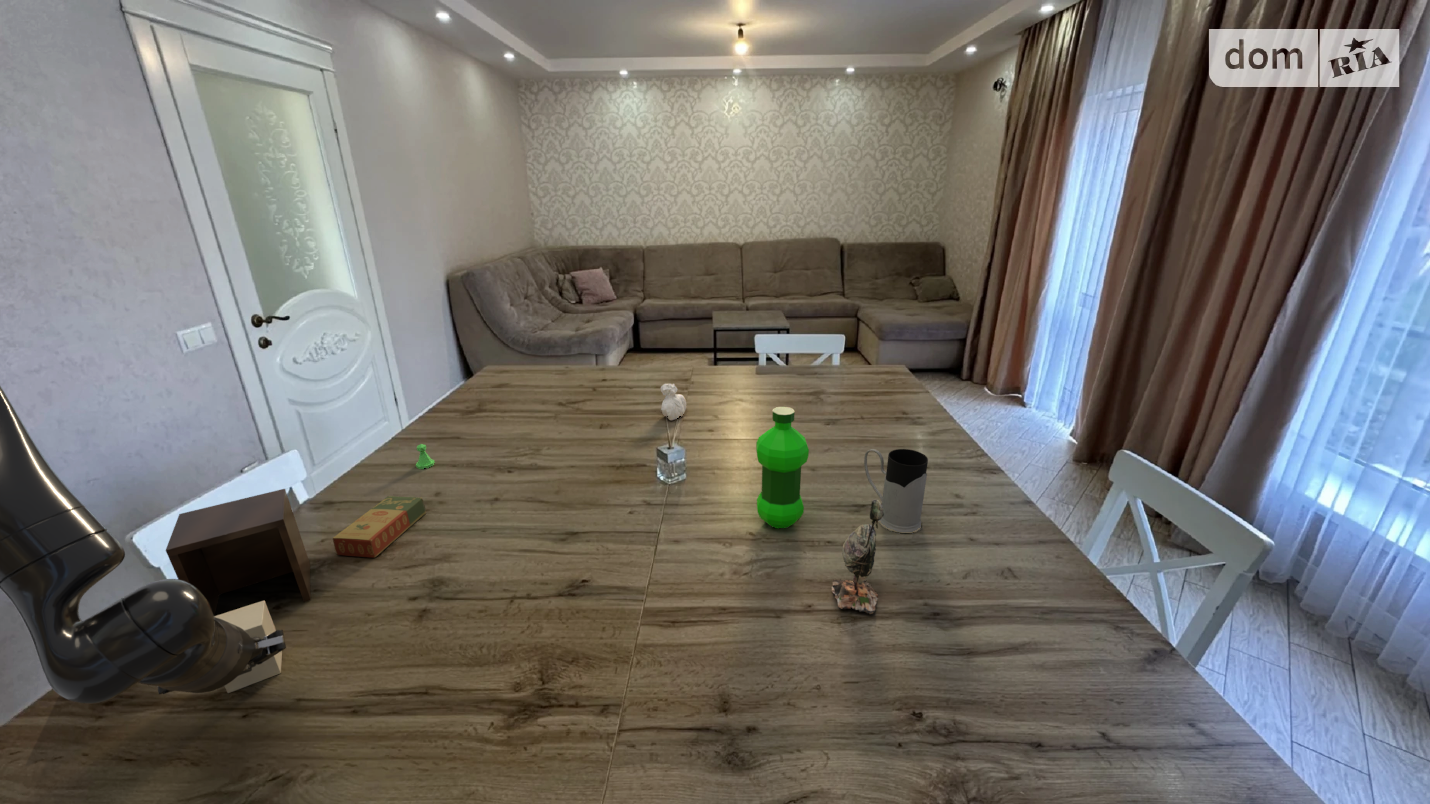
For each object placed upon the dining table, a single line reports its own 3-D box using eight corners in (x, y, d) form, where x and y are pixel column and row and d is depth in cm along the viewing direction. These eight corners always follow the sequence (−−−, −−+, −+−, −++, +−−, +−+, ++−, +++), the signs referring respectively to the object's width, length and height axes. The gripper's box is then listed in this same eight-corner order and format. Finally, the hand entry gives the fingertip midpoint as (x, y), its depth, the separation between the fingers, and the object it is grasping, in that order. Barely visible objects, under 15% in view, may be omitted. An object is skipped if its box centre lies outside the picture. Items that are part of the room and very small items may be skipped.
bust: (681, 415, 175) (661, 386, 175) (698, 404, 171) (678, 374, 171) (663, 429, 165) (642, 398, 165) (680, 418, 161) (658, 386, 161)
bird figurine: (883, 578, 98) (895, 479, 91) (874, 621, 88) (887, 514, 81) (837, 567, 101) (845, 470, 94) (823, 608, 91) (832, 503, 84)
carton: (336, 556, 105) (330, 537, 104) (391, 511, 120) (387, 493, 119) (376, 558, 104) (370, 539, 103) (427, 513, 119) (423, 495, 118)
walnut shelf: (203, 636, 86) (165, 550, 81) (212, 593, 96) (179, 513, 90) (310, 600, 94) (283, 519, 88) (310, 564, 103) (285, 488, 97)
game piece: (427, 469, 138) (423, 448, 136) (412, 468, 138) (407, 447, 136) (438, 462, 142) (434, 440, 140) (423, 460, 142) (418, 439, 140)
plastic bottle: (799, 539, 109) (806, 423, 100) (748, 530, 112) (750, 417, 103) (808, 513, 118) (815, 404, 109) (760, 505, 121) (763, 399, 112)
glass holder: (906, 539, 109) (915, 471, 103) (848, 509, 119) (853, 447, 114) (930, 523, 114) (940, 458, 108) (872, 496, 124) (879, 435, 119)
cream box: (227, 693, 76) (205, 643, 73) (232, 665, 81) (211, 617, 78) (281, 673, 80) (261, 624, 76) (282, 647, 84) (264, 600, 81)
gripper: (267, 598, 67) (297, 619, 81) (115, 647, 60) (177, 660, 74) (278, 660, 65) (307, 670, 79) (121, 718, 58) (184, 718, 72)
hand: (244, 665), depth 76 cm, fingers closed
